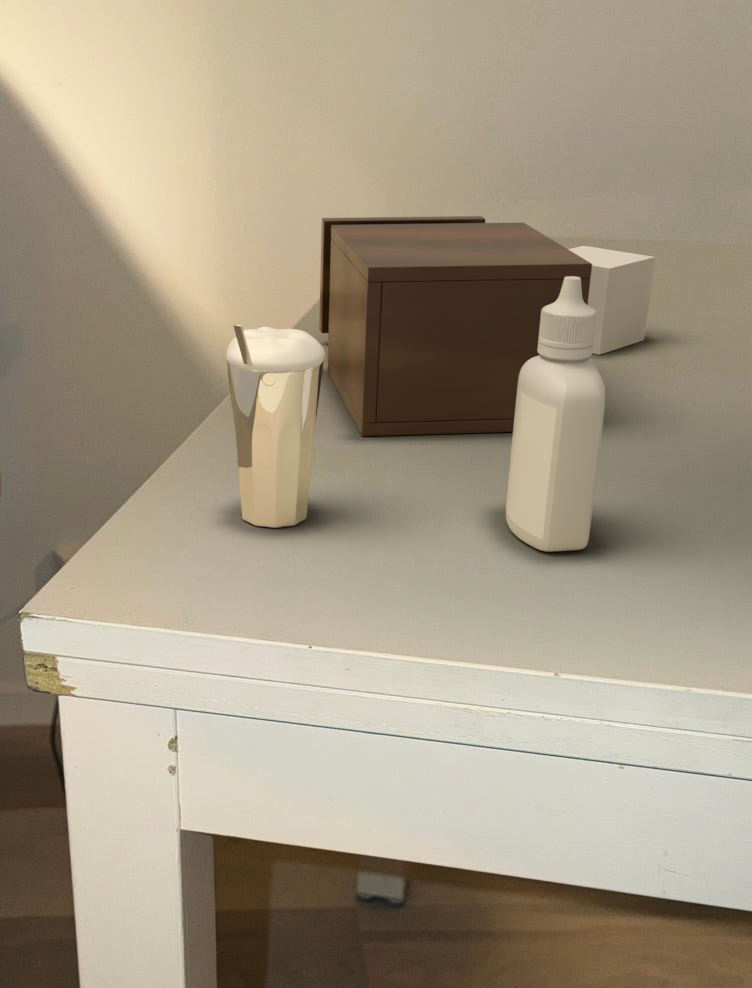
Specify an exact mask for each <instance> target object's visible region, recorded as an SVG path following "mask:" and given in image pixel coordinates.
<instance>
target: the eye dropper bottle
mask: <svg viewBox="0 0 752 988" xmlns="http://www.w3.org/2000/svg"><path fill="white" fill-rule="evenodd" d="M596 317H597V312H596V310H595V309H594V308H592V307H590V306H588V305H586V304H585V303H584V301H583V298H582V288H581V278H580V277H575V276H567V277H565V278H564V281H563V285H562V288H561V291H560V295H559V297H558V299H557V300H556V301H555V302H554V303H552V304H549V305H547V306H545V307H543V308H542V310H541V318H540V329H539V339H538V349H537V352H538V353H539V354H540V355H539V356H536V357H533V358H531V359H529V360H528V361H527V362H526V363H525V364H524V365H523V366H522V368H521V370H520V373H519V379H518V386H517V396H516V405H515V416H514V427H513V432H512V439H511V449H510V460H509V470H508V480H507V481H508V482H507V492H506V504H505V521H506V523H507V527H508V528H509V530H510V531H511V532H512V533H513V535H514V536H516V538H518V539H519V540H521V541H522V542H524V543H525V544H527V545H529V546H530V547H532V548H534V549H537V550H539V551H543V552H550V553H551V552H567V551H568V552H569V551H579V550H583V549H585V548H586V547H587V546H588V543H589V540H590V532H591V524H592V518H593V517H592V515H593V508H594V501H595V493H596V492H595V491H596V485H597V476H598V467H599V460H600V452H601V444H602V435H603V426H604V417H605V406H606V387H605V383H604V379H603V378H602V376H601V373H600V371H599V370H598V368H597V367H596V365H595V364H594V363H593V361H592V360H591V358H590V357H592V355H593V353H592V351H593V343H594V334H595V326H596Z"/></svg>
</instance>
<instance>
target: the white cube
mask: <svg viewBox="0 0 752 988" xmlns="http://www.w3.org/2000/svg"><path fill="white" fill-rule="evenodd" d="M567 249H568V250H570V251H572V252H573V253H575V254H577V255H578V256H580V257H582V258H583V259H585V260H586V261H588V262H590V263H591V264H592V271H591V278H590V288H589V297H588V306H590V307H592V308H594V309H595V310H596V312H597V317H596V326H595V334H594V343H593V351H592V354H594V355H598V356H600V355H603V354H606V353H609V352H612V351H615V350H618V349H621V348H624V347H628V346H631V345H633V344H637V343H640V342H643V341H645V336H646V327H647V321H648V314H649V307H650V306H649V305H650V297H651V293H652V292H651V290H652V282H653V276H654V269H655V268H654V267H655V263H656V262H655V261H656V256H652V255H645V254H639V253H632V252H626V251H619V250H613V249H608V248H607V249H606V248H601V247H595V246H588V245H581V246H576V247H571V248H567Z"/></svg>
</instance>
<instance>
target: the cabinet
mask: <svg viewBox="0 0 752 988" xmlns="http://www.w3.org/2000/svg"><path fill="white" fill-rule="evenodd" d="M568 249H569V248H566V247H565V246H563V245H562V244H560V243H558V242H556V240H554V239H552V238H551V237H548V236H547V235H545V234H543V233H541V232H540V231H538V230H537V229H535V228H533V227H532V226H530V225H528V224H527V223H525V222H485V223H448V224H369V225H331V260H330V299H329V333H328V341H327V343H328V344H327V361H328V362H327V374H328V376H329V378H330V380H331V381H332V383H333V385H334V387H335V389H336V391H337V393H338V395H339V397H340V398H341V400H342V402H343V404H344V405H345V407H346V409H347V411H348V413H349V414H350V416H351V418H352V420H353V422H354V424H355V426H356V427H357V429H358V431H359V433H360V435H361V436H362V437H382V436H383V437H384V436H386V437H387V436H389V437H390V436H416V435H417V436H418V435H422V436H423V435H450V434H451V435H454V434H455V435H457V434H486V433H487V434H489V433H491V434H492V433H513V427H514V416H515V405H516V396H517V386H518V379H519V373H520V370H521V368H522V366H523V365H524V364H525V363H526V362H527V361H528V360H529V359H531V358H533V357H536V356H539V355H540V354H539V353H538V352H537V349H538V339H539V329H540V318H541V310H542V308H543V307H545V306H547V305H549V304H552V303H554V302H555V301H556V300H557V299H558V297H559V295H560V291H561V288H562V285H563V281H564V278H565V277H567V276H575V277H580V278H581V288H582V298H583V301H584V303H585V304H586V305H588V297H589V288H590V278H591V271H592V264H591V263H590V262H588V261H586V260H585V259H583V258H582V257H580V256H578V255H577V254H575V253H573V252H572V251H570V250H568Z"/></svg>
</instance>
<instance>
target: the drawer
mask: <svg viewBox="0 0 752 988" xmlns="http://www.w3.org/2000/svg"><path fill="white" fill-rule="evenodd" d="M448 223H486V218H485V217H483V216H481V215H463V216H462V215H460V216H458V215H457V216H456V215H455V216H451V215H450V216H381V217H379V216H378V217H377V216H376V217H375V216H374V217H373V216H371V217H322V218H321V231H320V235H321V236H320V237H321V238H320V277H319V279H320V280H319V281H320V282H319V321H318V324H319V325H318V329H319V331H320V333H321V334H329V299H330V260H331V225H369V224H448Z"/></svg>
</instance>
